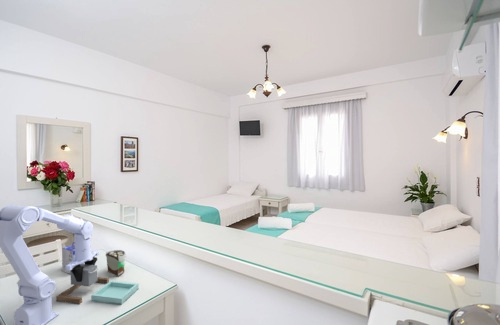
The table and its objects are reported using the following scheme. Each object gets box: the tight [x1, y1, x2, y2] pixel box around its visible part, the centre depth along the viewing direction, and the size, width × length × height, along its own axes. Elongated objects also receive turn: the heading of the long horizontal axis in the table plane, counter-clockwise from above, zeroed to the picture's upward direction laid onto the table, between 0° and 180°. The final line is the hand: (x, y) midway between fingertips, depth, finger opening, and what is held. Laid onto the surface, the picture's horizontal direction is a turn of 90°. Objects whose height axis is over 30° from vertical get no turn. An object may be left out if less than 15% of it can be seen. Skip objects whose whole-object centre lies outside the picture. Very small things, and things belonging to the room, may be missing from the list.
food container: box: [105, 249, 127, 278], centre depth 117 cm, size 12×6×10 cm, turn 59°
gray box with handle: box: [69, 263, 99, 287], centre depth 100 cm, size 4×10×7 cm, turn 80°
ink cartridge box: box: [61, 241, 85, 275], centre depth 118 cm, size 10×6×14 cm, turn 66°
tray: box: [90, 280, 139, 305], centre depth 98 cm, size 10×14×2 cm
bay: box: [55, 276, 110, 305], centre depth 101 cm, size 15×11×2 cm
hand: (84, 278), depth 101 cm, fingers closed on gray box with handle, 4 cm apart
